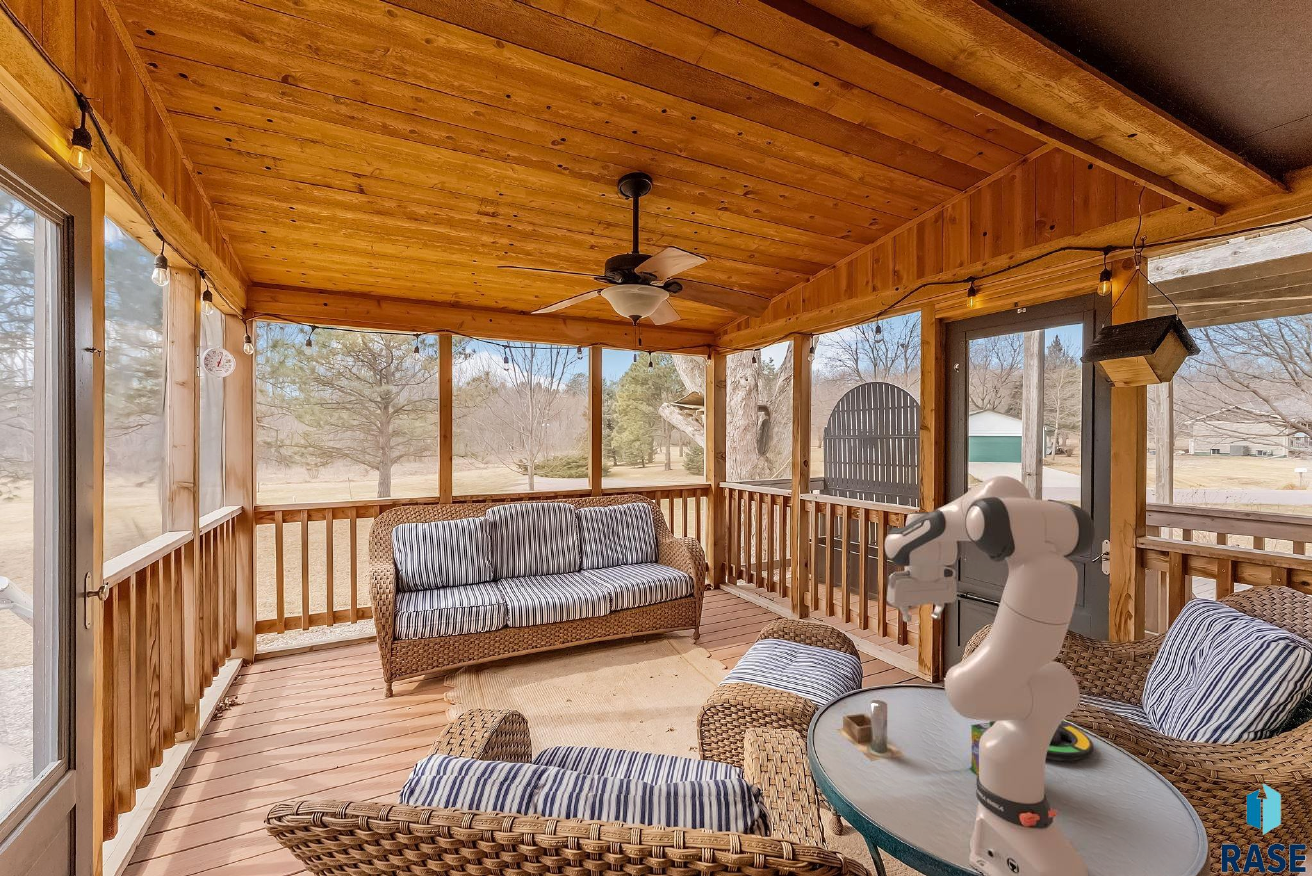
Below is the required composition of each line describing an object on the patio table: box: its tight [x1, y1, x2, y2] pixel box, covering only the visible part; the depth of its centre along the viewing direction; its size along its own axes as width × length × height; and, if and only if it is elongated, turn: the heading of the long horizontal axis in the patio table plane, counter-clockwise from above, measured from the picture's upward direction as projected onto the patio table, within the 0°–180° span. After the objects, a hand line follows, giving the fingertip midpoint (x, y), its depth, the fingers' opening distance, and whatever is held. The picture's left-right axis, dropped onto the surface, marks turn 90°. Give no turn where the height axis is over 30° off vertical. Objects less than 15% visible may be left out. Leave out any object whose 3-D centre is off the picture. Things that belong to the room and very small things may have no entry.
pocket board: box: [836, 713, 905, 762], centre depth 153 cm, size 16×10×5 cm, turn 14°
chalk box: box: [970, 721, 996, 775], centre depth 139 cm, size 9×9×15 cm
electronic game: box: [1046, 721, 1094, 762], centre depth 155 cm, size 23×23×5 cm
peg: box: [870, 699, 888, 753], centre depth 149 cm, size 4×4×12 cm
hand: (921, 619), depth 156 cm, fingers open, 8 cm apart
